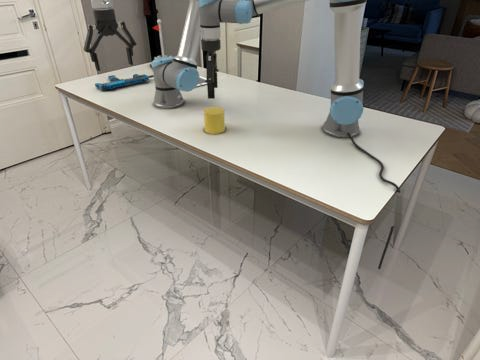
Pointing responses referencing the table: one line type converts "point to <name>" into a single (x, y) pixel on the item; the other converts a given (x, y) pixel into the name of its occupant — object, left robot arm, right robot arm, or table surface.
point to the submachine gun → (122, 81)
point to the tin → (214, 120)
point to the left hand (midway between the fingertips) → (115, 67)
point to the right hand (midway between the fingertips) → (212, 92)
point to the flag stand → (158, 27)
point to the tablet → (201, 81)
